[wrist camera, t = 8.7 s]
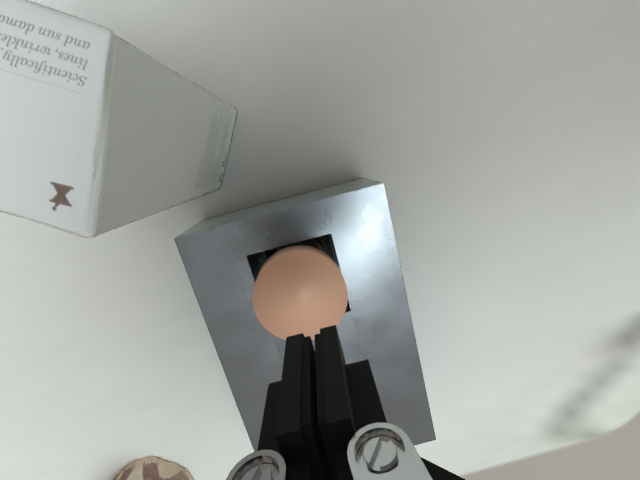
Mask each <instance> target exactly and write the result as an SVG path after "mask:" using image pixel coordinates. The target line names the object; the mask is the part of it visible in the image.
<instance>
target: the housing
mask: <svg viewBox="0 0 640 480" xmlns="http://www.w3.org/2000/svg"><path fill="white" fill-rule="evenodd" d="M327 234H328V237H329V241H330V245H331V249H332V252H333V256H334V260H335V262H336V263H337V265H338V266H339V268H340V270H341V273H342V275H343V278H344V280H345V283H346V286H347V291H348V302H347V307H346V311H345V313H344V316H343V317H342V319H341V321H340V322H339V323H338V325H337V326H336V328H337V331H338V335H339V338H340V342H341V346H342V350H343V353H344V357H345V361H346V364H350V363H354V362H358V361H363V360H367V359H368V361H369V364H370V367H371V371H372V374H373V377H374V381H375V384H376V387H377V391H378V394H379V397H380V401H381V404H382V408H383V411H384V414H385V418H386V421H387V423H390V424H393V425H396V426H397V427H399V428H400V429H402V430H403V431H404V432H405V433H406V434H407V436H408V437H409V438H410V440H411V442H412V444H413V445H418V444H421V443H425V442H429V441H432V440H436V437H435V433H434V428H433V423H432V418H431V413H430V408H429V403H428V398H427V393H426V388H425V384H424V379H423V374H422V369H421V364H420V359H419V354H418V349H417V344H416V339H415V335H414V330H413V325H412V320H411V315H410V310H409V305H408V300H407V295H406V290H405V285H404V281H403V276H402V271H401V266H400V261H399V256H398V251H397V246H396V241H395V236H394V232H393V227H392V222H391V217H390V212H389V207H388V202H387V197H386V192H385V187H384V183H381V182H377V181H373V180H370V179H366V178H360V179H356V180H352V181H348V182H345V183H341V184H337V185H333V186H330V187H326V188H322V189H318V190H314V191H311V192H307V193H303V194H299V195H295V196H292V197H288V198H284V199H280V200H276V201H273V202H269V203H265V204H261V205H258V206H254V207H250V208H246V209H242V210H239V211H235V212H231V213H227V214H223V215H220V216H216V217H212V218H208V219H204V220H203V221H201V222H199V223H198V224H196V225H195V226H193V227H191V228H190V229H188V230H187V231H185V232H184V233H182V234H180V235H179V236H177V237H176V238H174V240H175V242H176V245H177V248H178V250H179V253H180V256H181V258H182V261H183V264H184V266H185V269H186V271H187V274H188V277H189V279H190V282H191V285H192V287H193V290H194V293H195V295H196V298H197V301H198V303H199V306H200V308H201V311H202V314H203V316H204V319H205V322H206V324H207V327H208V330H209V332H210V335H211V338H212V340H213V343H214V346H215V348H216V351H217V353H218V356H219V359H220V361H221V364H222V367H223V369H224V372H225V375H226V377H227V380H228V383H229V385H230V388H231V390H232V393H233V396H234V398H235V401H236V404H237V406H238V409H239V412H240V414H241V417H242V420H243V422H244V425H245V428H246V430H247V433H248V435H249V438H250V441H251V443H252V446H253V449H254V451H255V452H256V451H257V449H258V443H259V437H260V431H261V426H262V420H263V414H264V408H265V402H266V396H267V390H268V386H269V384H270V383H273V382H277V381H281V379H282V371H283V362H284V353H285V345H286V340H284V339H281V338H279V337H277V336H275V335H273V334H272V333H270V332H269V331H268V330H267V329H265V328H264V327H263V325H262V324H261V323H260V321H259V320H258V318H257V316H256V314H255V311H254V307H253V301H252V297H253V289H254V286H255V282H256V280H257V277H258V274H259V271H260V269H261V267H262V266H263V264H264V263H265V262H266V256H265V253H264V251H266V250H270V249H274V248H278V247H281V246H285V245H289V244H293V243H297V242H300V241H304V240H308V239H312V238H315V237H319V236H323V235H327ZM312 343H313V347H314V350H315V340H312Z"/></svg>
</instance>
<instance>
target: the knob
mask: <svg viewBox="0 0 640 480" xmlns="http://www.w3.org/2000/svg"><path fill="white" fill-rule="evenodd" d="M252 301H253V307H254V311H255V314H256V316H257V318H258V320H259V321H260V323H261V324H262V325H263V327H264V328H265V329H267V330H268V331H269V332H270V333H272V334H273V335H275V336H277V337H279V338H281V339H284V340H286V338H287V337H289V336H293V335H297V334H301V333H303V334H304V336H305V337H307V336H310V337H311V340H315V334H319V333H320V329H321V328H325V327H329V326H333V325H336V326H337V325H338V323H339V322H340V321H341V319H342V317H343V316H344V313H345V311H346V307H347V302H348V291H347V286H346V283H345V280H344V278H343V275H342V273H341V270H340V268H339V266H338V265H337V263H336V262H335V261H334V260H333V259H332V258H331V257H330V256H329V255H328V254H327V253H325V252H323V250H322V248H321V246H320V244H319V243H318V242H317V241H316V240H315V239H314V238H312V239H308V240H304V241H300V242H297V243H293V244H289V245H285V246H281V247H278V248H277V251H276V253H274V254H273V255H272V256H270V257H269V258H268V259H267V260H266V262H265V263H264V264H263V266H262V267H261V269H260V271H259V274H258V277H257V280H256V282H255V286H254V289H253V297H252Z"/></svg>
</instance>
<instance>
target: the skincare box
mask: <svg viewBox="0 0 640 480" xmlns="http://www.w3.org/2000/svg"><path fill="white" fill-rule="evenodd" d="M236 116H237V109H235V108H234V107H232V106H230V105H229V104H227V103H225V102H224V101H222V100H220V99H218V98H217V97H215V96H214V95H212V94H211V93H209V92H208V91H206V90H204V89H203V88H201V87H199V86H198V85H196V84H194V83H193V82H191V81H189V80H187V79H186V78H184V77H182V76H181V75H179V74H178V73H176V72H174V71H173V70H171V69H169V68H168V67H166V66H164V65H163V64H161V63H159V62H158V61H156V60H155V59H153V58H151V57H150V56H148V55H146V54H145V53H143V52H142V51H140V50H139V49H137V48H136V47H134V46H132V45H131V44H129V43H128V42H126V41H125V40H123V39H121V38H120V37H118V36H117V35H115V34H114V33H113V32H112V31H111V30H110V29H108V28H106V27H103V26H100V25H97V24H94V23H91V22H89V21H86V20H83V19H80V18H77V17H75V16H72V15H69V14H66V13H63V12H60V11H58V10H55V9H52V8H49V7H46V6H43V5H40V4H37V3H35V2H32V1H29V0H0V212H3V213H7V214H10V215H14V216H18V217H22V218H26V219H29V220H32V221H35V222H39V223H42V224H45V225H48V226H51V227H54V228H56V229H59V230H62V231H65V232H68V233H71V234H74V235H77V236H80V237H84V238H93V237H96V236H98V235H100V234H103V233H105V232H107V231H110V230H112V229H115V228H118V227H120V226H123V225H126V224H128V223H131V222H133V221H136V220H139V219H141V218H144V217H147V216H149V215H152V214H155V213H157V212H160V211H163V210H165V209H168V208H171V207H173V206H176V205H179V204H181V203H184V202H186V201H189V200H192V199H195V198H197V197H200V196H203V195H205V194H208V193H211V192H213V191H216V190H219V189H220V186H221V182H222V177H223V173H224V169H225V164H226V160H227V156H228V151H229V147H230V142H231V138H232V133H233V129H234V124H235V120H236Z"/></svg>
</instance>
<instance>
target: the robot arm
mask: <svg viewBox="0 0 640 480" xmlns="http://www.w3.org/2000/svg"><path fill="white" fill-rule="evenodd" d="M226 480H465V479H463V478H461V477H459V476H457V475H455V474H453V473H451V472H449V471H447V470H445V469H443V468H441V467H439V466H437V465H435V464H433V463H431V462H429V461H427V460H425V459H423V458H421V457H420V456H419V454H418V453H417V451H416V449H415V447H414V445H413V444H412V442H411V440H410V438H409V437H408V436H407V434H406V433H405V432H404V431H403V430H402V429H400V428H399V427H397V426H396V425H393V424H390V423H387V421H386V418H385V414H384V411H383V408H382V404H381V401H380V397H379V394H378V391H377V387H376V384H375V381H374V377H373V374H372V371H371V367H370V364H369V361H368V359H367V360H363V361H358V362H354V363H350V364H346V361H345V357H344V353H343V350H342V346H341V342H340V338H339V335H338V331H337V328H336V325H333V326H329V327H325V328H321V329H320V333H319V334H315V350H314V347H313V343H312V340H311V337H310V336H307V337H305V336H304V334H303V333H301V334H297V335H293V336H289V337H287V338H286V345H285V353H284V362H283V371H282V379H281V381H277V382H273V383H270V384H269V386H268V390H267V396H266V402H265V408H264V414H263V420H262V426H261V431H260V437H259V443H258V449H257V451H256V452H253V453H251V454H249V455H247V456H246V457H244V458H243V459H242V460H241V461H239V462H238V463H237V464H236V465H235V467H234V468H233V469H232V470H231V471H230V473H229V475H228V477H227V479H226Z"/></svg>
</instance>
